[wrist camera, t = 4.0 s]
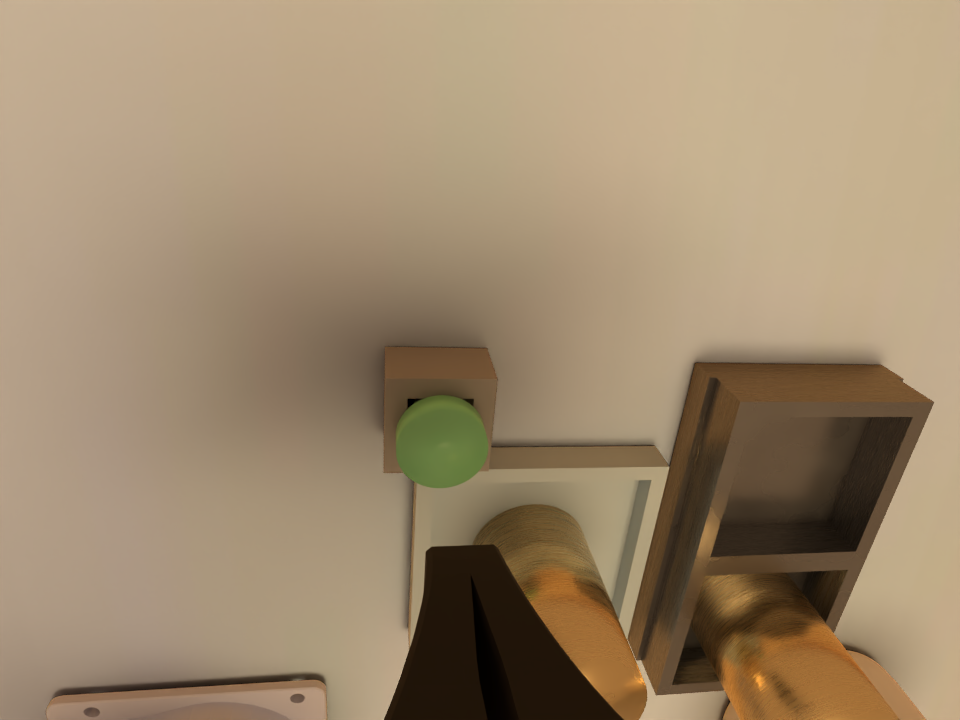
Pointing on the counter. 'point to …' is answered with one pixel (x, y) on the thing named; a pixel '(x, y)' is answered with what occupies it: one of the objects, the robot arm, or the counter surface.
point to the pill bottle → (881, 681)
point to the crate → (770, 495)
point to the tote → (559, 483)
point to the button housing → (436, 387)
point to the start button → (441, 441)
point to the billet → (569, 598)
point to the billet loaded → (779, 653)
